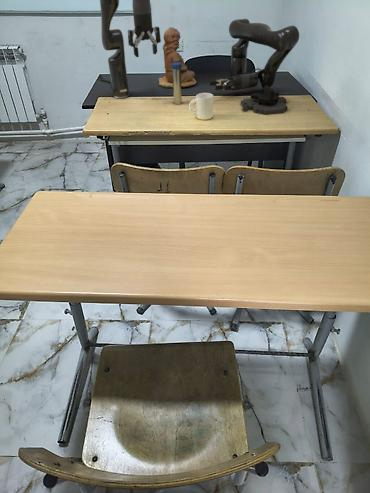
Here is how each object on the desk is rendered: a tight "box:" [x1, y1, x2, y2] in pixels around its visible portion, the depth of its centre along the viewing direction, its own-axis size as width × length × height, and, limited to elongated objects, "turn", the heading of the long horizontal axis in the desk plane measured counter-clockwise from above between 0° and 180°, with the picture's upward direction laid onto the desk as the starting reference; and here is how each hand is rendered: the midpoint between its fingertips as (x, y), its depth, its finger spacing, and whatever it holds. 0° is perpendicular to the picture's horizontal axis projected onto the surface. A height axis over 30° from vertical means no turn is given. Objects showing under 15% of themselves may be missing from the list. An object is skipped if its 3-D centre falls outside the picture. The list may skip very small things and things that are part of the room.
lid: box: [171, 62, 182, 69], centre depth 183 cm, size 5×5×2 cm
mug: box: [188, 92, 214, 121], centre depth 174 cm, size 12×8×10 cm
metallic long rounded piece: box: [172, 69, 183, 105], centre depth 189 cm, size 4×4×19 cm
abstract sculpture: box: [240, 85, 289, 115], centre depth 183 cm, size 25×9×20 cm
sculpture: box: [157, 27, 198, 89], centre depth 214 cm, size 27×24×30 cm
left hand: (145, 55), depth 158 cm, fingers open, 8 cm apart
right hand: (212, 85), depth 195 cm, fingers open, 8 cm apart
